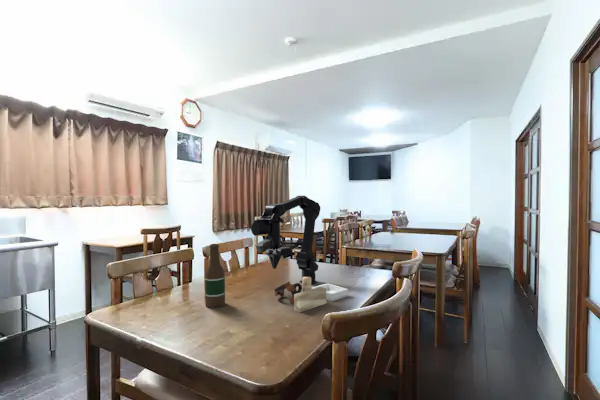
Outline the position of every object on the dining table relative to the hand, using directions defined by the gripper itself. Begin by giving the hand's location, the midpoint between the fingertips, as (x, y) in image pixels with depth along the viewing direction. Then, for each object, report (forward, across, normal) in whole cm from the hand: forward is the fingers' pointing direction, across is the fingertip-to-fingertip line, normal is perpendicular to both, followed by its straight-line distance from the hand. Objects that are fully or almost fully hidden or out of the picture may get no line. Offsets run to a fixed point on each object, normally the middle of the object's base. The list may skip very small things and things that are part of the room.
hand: (274, 268), depth 137 cm
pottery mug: (+11, +11, -1) cm, 15 cm away
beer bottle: (+11, -4, -26) cm, 29 cm away
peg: (+11, +8, +12) cm, 18 cm away
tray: (+11, +19, +15) cm, 26 cm away
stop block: (+11, +24, 0) cm, 26 cm away
